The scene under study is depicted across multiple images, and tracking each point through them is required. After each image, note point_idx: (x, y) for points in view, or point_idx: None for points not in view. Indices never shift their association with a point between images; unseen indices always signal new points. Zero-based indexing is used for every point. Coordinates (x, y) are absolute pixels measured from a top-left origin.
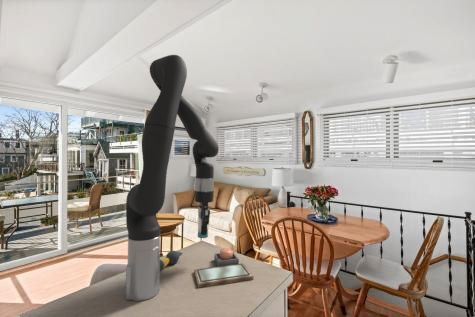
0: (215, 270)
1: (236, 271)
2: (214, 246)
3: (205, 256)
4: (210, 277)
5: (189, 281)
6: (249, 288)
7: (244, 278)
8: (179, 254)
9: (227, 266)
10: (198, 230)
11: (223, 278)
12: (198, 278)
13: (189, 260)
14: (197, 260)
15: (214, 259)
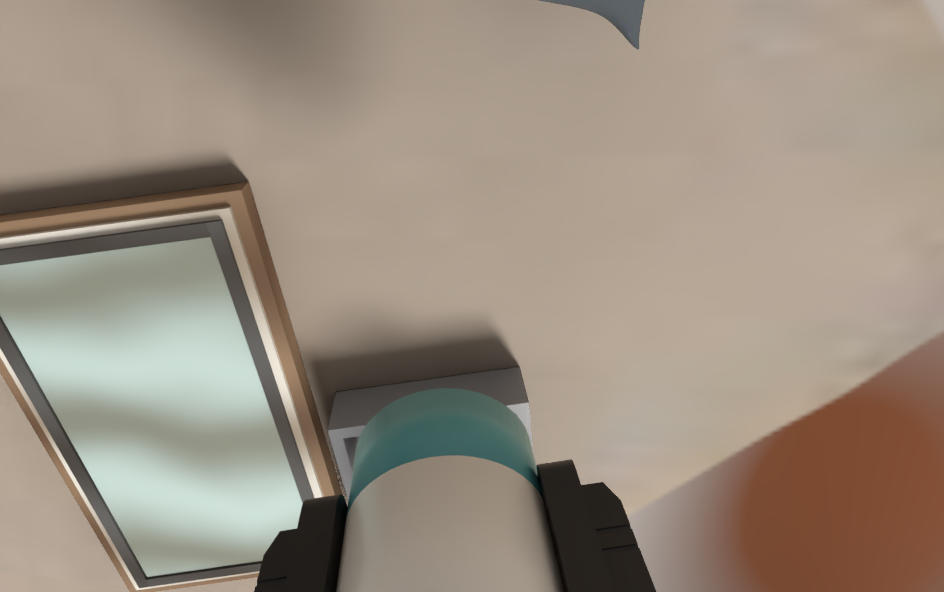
0: (206, 381)
1: (190, 518)
2: (855, 380)
3: (624, 292)
4: (55, 339)
5: (51, 140)
6: (8, 543)
7: (108, 543)
8: (572, 3)
9: (286, 469)
10: (398, 494)
11: (48, 431)
12: (28, 236)
13: (562, 127)
14: (541, 214)
15: (515, 370)
